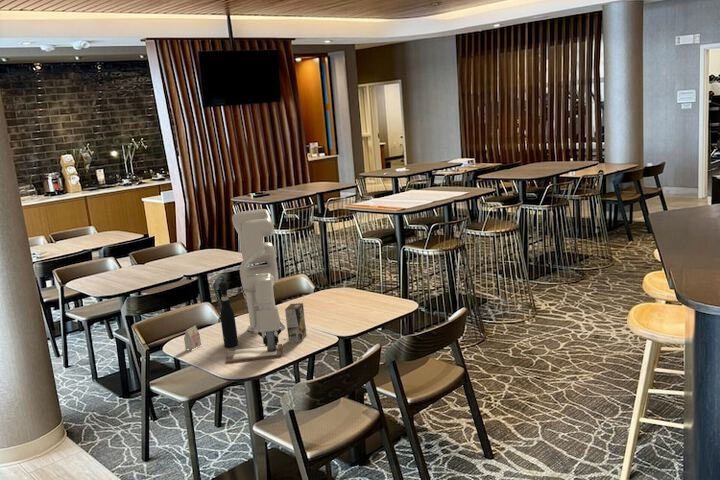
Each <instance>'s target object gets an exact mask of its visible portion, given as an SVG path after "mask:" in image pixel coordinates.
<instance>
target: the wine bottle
mask: <svg viewBox="0 0 720 480" xmlns="http://www.w3.org/2000/svg"><path fill="white" fill-rule="evenodd" d="M218 290H219V292H220V293H221V296H220V297H221V298H220V299H221V301H220V304H221V310H220V318H219V319H220V325H221V331H222V338H223V344H224V348H225V349H234V348H237V347H238V346H239V340H238V332H237V326H236V325H237V324H236V317H235V313H234V310H233V308H232V306H231V304H230V303H231V301H230V298H229V295H228V291H229V287H228V282H220V283H219V284H218Z"/></svg>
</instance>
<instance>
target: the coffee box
mask: <svg viewBox="0 0 720 480" xmlns="http://www.w3.org/2000/svg"><path fill="white" fill-rule="evenodd" d="M284 311H285V318H286V320H285V321H286V327H287V328H286V329H287V337H288V338H287V339H288V343H302V342H304V340H305V338H306V337H307V336H308V335H307V326H306V318H305V309H304V303H303V302H299V303H290V304H289V305H288V306H287V307H286V308H285V309H284Z"/></svg>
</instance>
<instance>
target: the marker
mask: <svg viewBox="0 0 720 480" xmlns="http://www.w3.org/2000/svg"><path fill="white" fill-rule="evenodd" d="M265 335H266V342H267V351H268V352H273V351H276V350H277V348H276V345H275V332H274V331H269V332H265Z"/></svg>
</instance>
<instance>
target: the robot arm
mask: <svg viewBox="0 0 720 480" xmlns="http://www.w3.org/2000/svg"><path fill="white" fill-rule="evenodd" d="M231 220H232V224H233V227H234V229H235V230H236V233H237V234H238V238H239V244H240V250H241V256H242V260H241V263H240V266H239V267H240V268H239V276H240V281H241V287H242V290H243V291H244V292H245V294H246V303H247V309H248V311H247V312H248V317H249V326H247V331H248V332H249V333H253V334H256V335H258V336H259V337H261V338H262V343H263V345H264V346H265V347H266V346H267V342H266V334H265V332H269V331H274V333H275V345H277V344H280V342H279V341H280V340H279V335H280V334H281V333H282V332H283V331H284V330H285V329H286V326H285V325H284V324H283V323H282V322H281V318H280V315H279V314H280V313H279V310H278V307H277V306H276V301H275V295H274V285H275V283H276V282H278V280H279V272H278V271H279V270H278V263H277V255H276V251H275V250H276V249H275V247H274V244H273V243H272V242H270V241H269V242H268V241H267V242H265V241H264V239H263V238H264V237H265V238H266V237H272V236H273V235H274V233H275V226H274V222H273V219H272V216H271V215H270V213H269V211H268V210H267V209H265V208H261V209H251V210H245V211H239V212H236V213H234V214H232V216H231ZM261 263H267V264H261ZM255 264H260V265H255ZM249 265H252V266H249Z"/></svg>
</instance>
